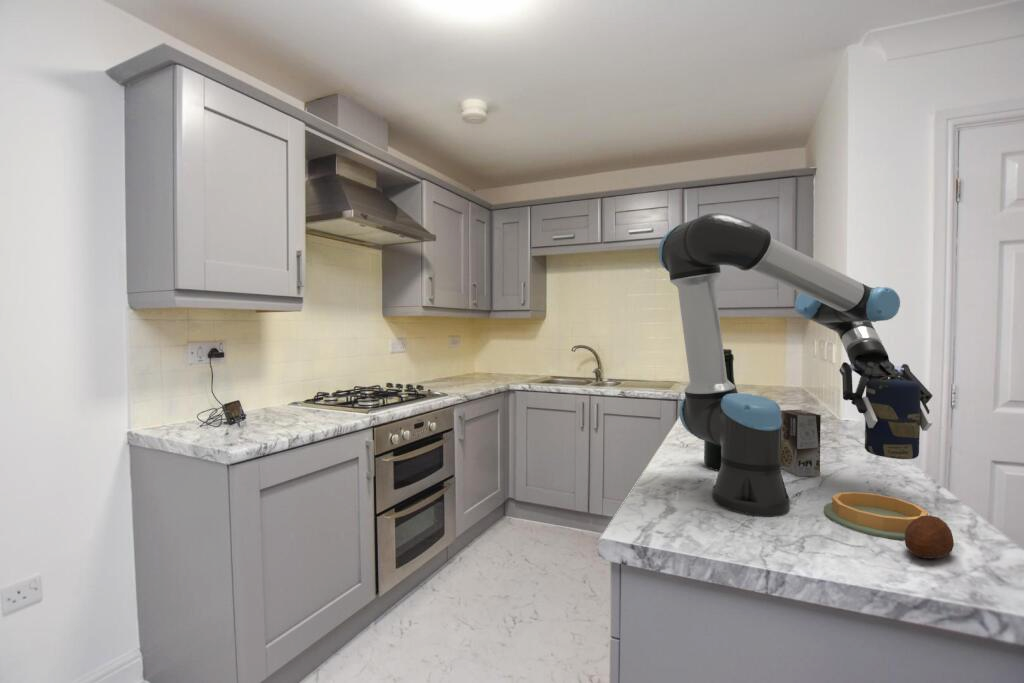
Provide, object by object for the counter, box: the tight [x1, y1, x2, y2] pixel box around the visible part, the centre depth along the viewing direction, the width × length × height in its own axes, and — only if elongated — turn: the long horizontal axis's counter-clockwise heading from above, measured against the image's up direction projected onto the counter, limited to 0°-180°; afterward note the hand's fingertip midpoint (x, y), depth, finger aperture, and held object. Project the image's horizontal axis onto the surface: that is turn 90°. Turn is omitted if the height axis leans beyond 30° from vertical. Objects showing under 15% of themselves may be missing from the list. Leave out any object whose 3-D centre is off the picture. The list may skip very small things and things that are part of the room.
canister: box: [864, 375, 921, 460], centre depth 105 cm, size 10×10×18 cm
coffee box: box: [780, 409, 822, 477], centre depth 128 cm, size 9×6×16 cm
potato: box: [904, 514, 955, 559], centre depth 81 cm, size 6×12×6 cm, turn 125°
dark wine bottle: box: [703, 348, 739, 471], centre depth 132 cm, size 10×10×33 cm
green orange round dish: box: [823, 491, 929, 541], centre depth 95 cm, size 18×18×3 cm
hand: (900, 425), depth 102 cm, fingers closed on canister, 9 cm apart
